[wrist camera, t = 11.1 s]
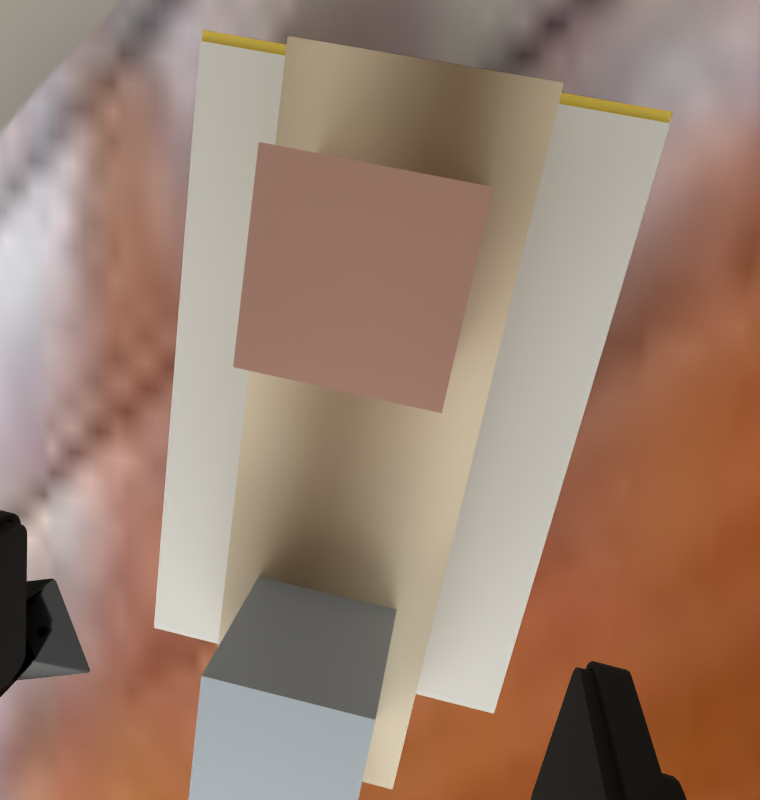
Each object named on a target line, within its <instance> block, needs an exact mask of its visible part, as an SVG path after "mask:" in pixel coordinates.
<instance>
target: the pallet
mask: <svg viewBox="0 0 760 800" xmlns="http://www.w3.org/2000/svg"><path fill="white" fill-rule="evenodd" d="M563 85H564V83H563V82H557V81H552V80H546V79H540V78H534V77H528V76H522V75H516V74H510V73H504V72H498V71H493V70H487V69H481V68H475V67H469V66H463V65H457V64H451V63H445V62H439V61H434V60H428V59H422V58H416V57H410V56H404V55H398V54H392V53H386V52H380V51H375V50H369V49H363V48H357V47H351V46H345V45H339V44H333V43H327V42H321V41H316V40H310V39H304V38H298V37H292V36H288V37H287V45H286V54H285V63H284V72H283V80H282V89H281V98H280V107H279V115H278V124H277V133H276V142H275V145H278V146H283V147H288V148H293V149H298V150H304V151H309V152H314V153H319V154H324V155H330V156H335V157H340V158H345V159H350V160H356V161H361V162H366V163H371V164H376V165H382V166H387V167H392V168H397V169H402V170H408V171H413V172H418V173H423V174H428V175H434V176H439V177H444V178H449V179H454V180H460V181H465V182H470V183H475V184H480V185H486V186H491V187H493V192H492V196H491V200H490V205H489V209H488V214H487V218H486V222H485V227H484V231H483V235H482V240H481V244H480V249H479V253H478V257H477V262H476V266H475V270H474V275H473V279H472V284H471V288H470V292H469V297H468V301H467V305H466V310H465V314H464V318H463V323H462V327H461V332H460V336H459V340H458V345H457V349H456V353H455V358H454V362H453V367H452V371H451V375H450V380H449V384H448V388H447V393H446V397H445V402H444V406H443V410H442V413H438V412H434V411H429V410H425V409H420V408H416V407H411V406H406V405H402V404H397V403H393V402H388V401H384V400H379V399H375V398H370V397H366V396H361V395H357V394H352V393H348V392H343V391H339V390H334V389H330V388H325V387H321V386H316V385H312V384H307V383H303V382H298V381H294V380H289V379H285V378H280V377H276V376H271V375H266V374H262V373H257V372H253V371H249V377H248V386H247V395H246V403H245V412H244V421H243V430H242V438H241V447H240V456H239V465H238V473H237V482H236V491H235V499H234V508H233V517H232V526H231V534H230V543H229V552H228V561H227V569H226V578H225V587H224V596H223V604H222V613H221V622H220V630H219V639H218V646H219V645H220V643H221V641H222V639H223V638H224V636H225V634H226V632H227V631H228V629H229V627H230V625H231V624H232V622H233V620H234V618H235V617H236V615H237V613H238V611H239V610H240V608H241V606H242V604H243V603H244V601H245V599H246V598H247V596H248V594H249V592H250V591H251V589H252V587H253V585H254V584H255V582H256V580H257V578H258V577H262V578H267V579H271V580H275V581H279V582H283V583H288V584H292V585H296V586H300V587H304V588H309V589H313V590H317V591H321V592H325V593H330V594H334V595H338V596H342V597H346V598H351V599H355V600H359V601H363V602H367V603H372V604H376V605H380V606H384V607H388V608H393V609H397V611H396V616H395V621H394V626H393V632H392V637H391V642H390V647H389V652H388V658H387V663H386V668H385V673H384V678H383V684H382V689H381V694H380V699H379V704H378V710H377V715H376V720H375V724H374V729H373V734H372V738H371V743H370V747H369V752H368V757H367V761H366V766H365V770H364V775H363V779H362V782H366V783H370V784H373V785H377V786H381V787H385V788H389V789H393V785H394V781H395V777H396V773H397V769H398V765H399V761H400V756H401V752H402V748H403V744H404V740H405V736H406V732H407V728H408V724H409V719H410V715H411V711H412V707H413V703H414V699H415V695H416V691H417V686H418V682H419V678H420V674H421V670H422V666H423V662H424V658H425V653H426V649H427V645H428V641H429V637H430V633H431V629H432V625H433V621H434V616H435V612H436V608H437V604H438V600H439V596H440V592H441V588H442V583H443V579H444V575H445V571H446V567H447V563H448V559H449V555H450V551H451V546H452V542H453V538H454V534H455V530H456V526H457V522H458V518H459V513H460V509H461V505H462V501H463V497H464V493H465V489H466V485H467V480H468V476H469V472H470V468H471V464H472V460H473V456H474V452H475V448H476V443H477V439H478V435H479V431H480V427H481V423H482V419H483V415H484V410H485V406H486V402H487V398H488V394H489V390H490V386H491V382H492V377H493V373H494V369H495V365H496V361H497V357H498V353H499V349H500V345H501V340H502V336H503V332H504V328H505V324H506V320H507V316H508V312H509V307H510V303H511V299H512V295H513V291H514V287H515V283H516V279H517V275H518V270H519V266H520V262H521V258H522V254H523V250H524V246H525V242H526V237H527V233H528V229H529V225H530V221H531V217H532V213H533V209H534V204H535V200H536V196H537V192H538V188H539V184H540V180H541V176H542V172H543V167H544V163H545V159H546V155H547V151H548V147H549V143H550V139H551V134H552V130H553V126H554V122H555V118H556V114H557V110H558V106H559V102H560V97H561V93H562V89H563Z"/></svg>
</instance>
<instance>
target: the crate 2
mask: <svg viewBox="0 0 760 800" xmlns="http://www.w3.org/2000/svg"><path fill="white" fill-rule="evenodd" d="M396 611H397V609H393V608H388V607H384V606H380V605H376V604H372V603H367V602H363V601H359V600H355V599H351V598H346V597H342V596H338V595H334V594H330V593H325V592H321V591H317V590H313V589H309V588H304V587H300V586H296V585H292V584H288V583H283V582H279V581H275V580H271V579H267V578H262V577H258V578H257V580H256V582H255V584H254V585H253V587H252V589H251V591H250V592H249V594H248V596H247V598H246V599H245V601H244V603H243V604H242V606H241V608H240V610H239V611H238V613H237V615H236V617H235V618H234V620H233V622H232V624H231V625H230V627H229V629H228V631H227V632H226V634H225V636H224V638H223V639H222V641H221V643H220V645H219V646H218V648H217V650H216V651H215V653H214V655H213V657H212V658H211V660H210V662H209V664H208V665H207V667H206V669H205V671H204V672H203V674H202V676H201V686H200V695H199V705H198V714H197V724H196V734H195V743H194V753H193V762H192V772H191V782H190V791H189V800H358V798H359V793H360V789H361V784H362V779H363V775H364V770H365V766H366V761H367V757H368V752H369V747H370V743H371V738H372V734H373V729H374V724H375V720H376V715H377V710H378V704H379V699H380V694H381V689H382V684H383V678H384V673H385V668H386V663H387V658H388V652H389V647H390V642H391V637H392V632H393V626H394V621H395V616H396Z"/></svg>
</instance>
